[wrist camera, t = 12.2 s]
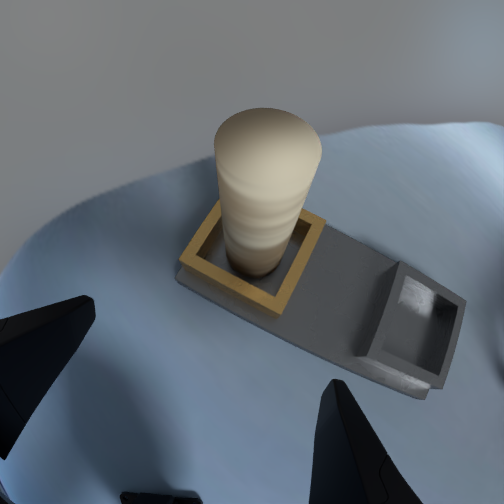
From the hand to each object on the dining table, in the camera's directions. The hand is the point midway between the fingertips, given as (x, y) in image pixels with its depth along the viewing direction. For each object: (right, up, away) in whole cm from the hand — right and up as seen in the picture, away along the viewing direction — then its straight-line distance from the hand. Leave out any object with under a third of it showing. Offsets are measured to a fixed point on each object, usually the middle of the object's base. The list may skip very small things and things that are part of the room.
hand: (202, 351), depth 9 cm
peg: (+2, +3, +11) cm, 12 cm away
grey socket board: (+8, 0, +11) cm, 14 cm away
